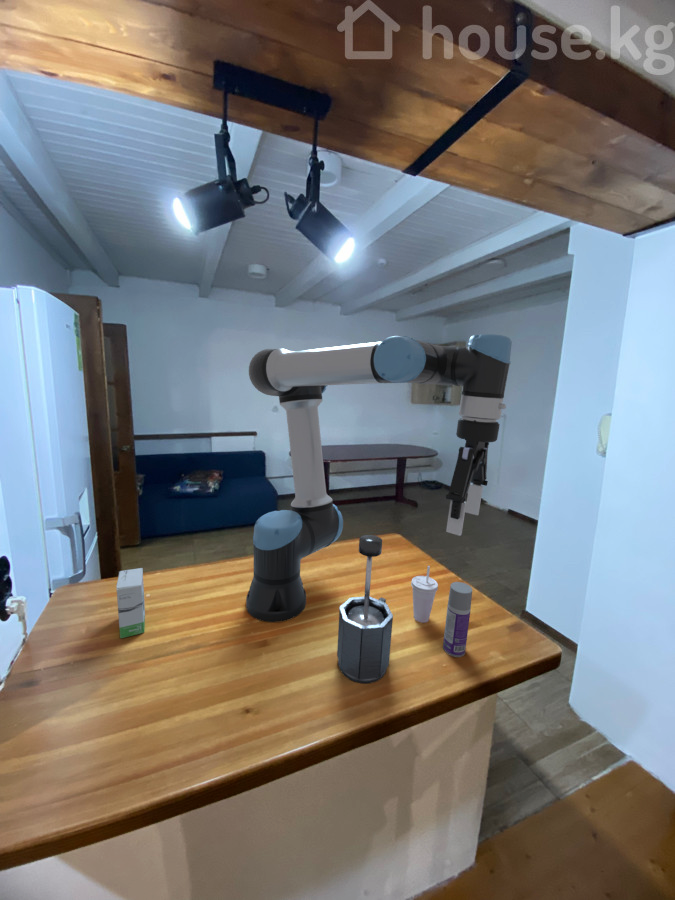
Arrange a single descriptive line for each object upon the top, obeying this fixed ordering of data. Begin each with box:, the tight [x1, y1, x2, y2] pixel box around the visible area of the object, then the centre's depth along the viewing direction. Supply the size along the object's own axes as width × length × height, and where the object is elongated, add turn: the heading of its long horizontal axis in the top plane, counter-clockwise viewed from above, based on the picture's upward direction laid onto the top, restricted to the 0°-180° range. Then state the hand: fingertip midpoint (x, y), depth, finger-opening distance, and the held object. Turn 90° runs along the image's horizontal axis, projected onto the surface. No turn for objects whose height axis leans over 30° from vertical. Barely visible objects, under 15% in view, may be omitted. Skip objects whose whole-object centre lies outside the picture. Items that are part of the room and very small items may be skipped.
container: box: [442, 581, 473, 658], centre depth 79 cm, size 5×5×15 cm
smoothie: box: [410, 565, 439, 624], centre depth 89 cm, size 6×6×14 cm
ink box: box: [115, 567, 146, 639], centre depth 82 cm, size 9×5×12 cm, turn 27°
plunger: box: [348, 534, 384, 626], centre depth 72 cm, size 7×7×17 cm
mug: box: [336, 596, 394, 685], centre depth 75 cm, size 10×13×12 cm
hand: (463, 522), depth 74 cm, fingers open, 13 cm apart
